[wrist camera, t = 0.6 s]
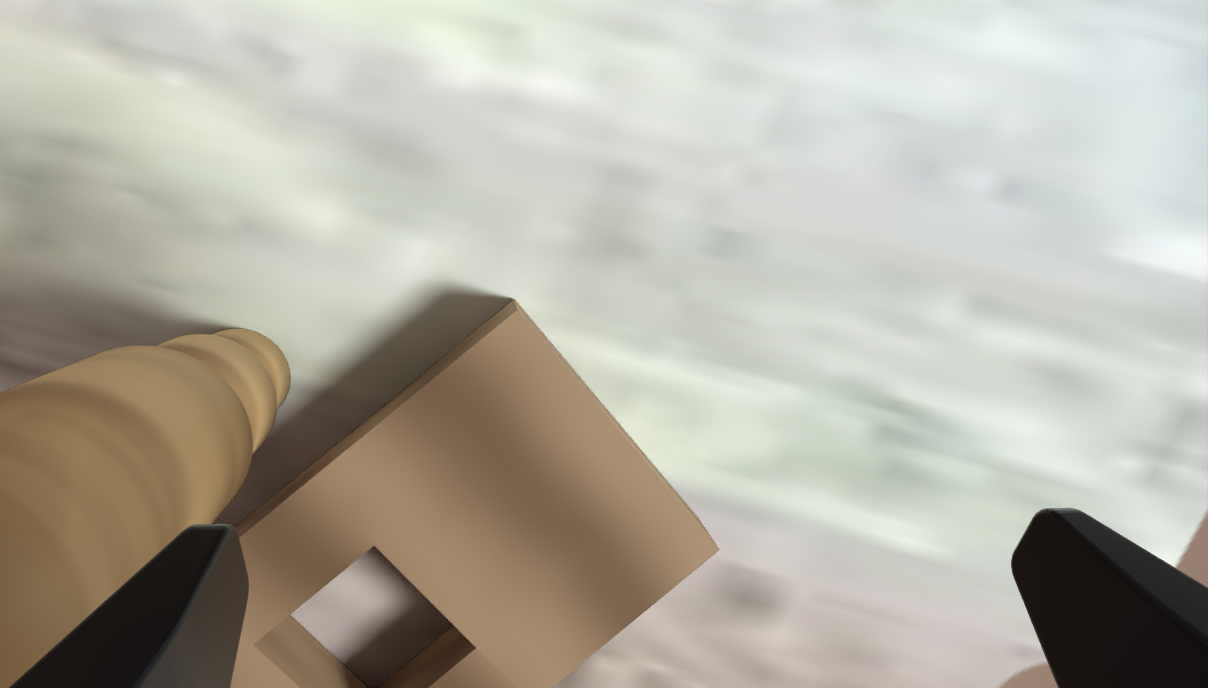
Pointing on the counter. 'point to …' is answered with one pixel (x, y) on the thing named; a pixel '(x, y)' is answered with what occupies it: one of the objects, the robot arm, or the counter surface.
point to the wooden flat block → (474, 524)
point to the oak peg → (120, 471)
